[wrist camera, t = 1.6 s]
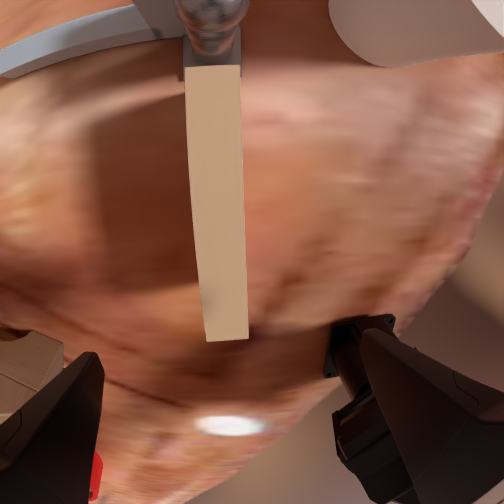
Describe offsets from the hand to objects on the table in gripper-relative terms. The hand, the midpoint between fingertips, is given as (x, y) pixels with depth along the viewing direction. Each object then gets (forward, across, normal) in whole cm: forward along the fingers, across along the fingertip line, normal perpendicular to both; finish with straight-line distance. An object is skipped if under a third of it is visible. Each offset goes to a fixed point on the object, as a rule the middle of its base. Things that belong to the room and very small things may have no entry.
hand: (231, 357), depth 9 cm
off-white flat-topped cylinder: (+13, -12, -16) cm, 24 cm away
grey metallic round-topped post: (+12, 0, -12) cm, 17 cm away
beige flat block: (+12, 0, -3) cm, 12 cm away
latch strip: (+13, +9, -14) cm, 21 cm away
